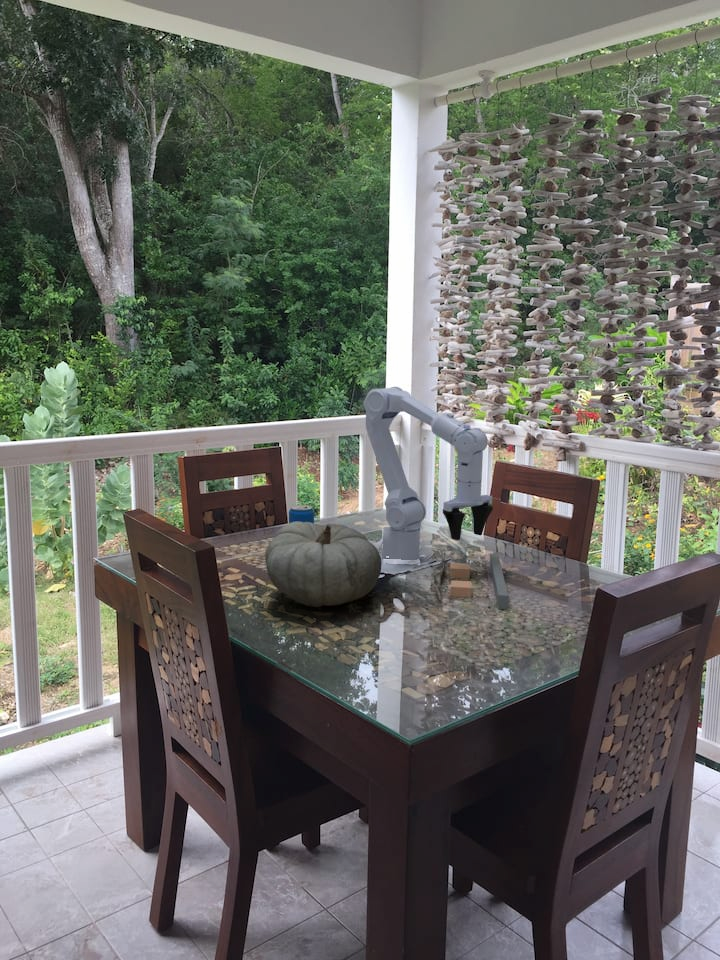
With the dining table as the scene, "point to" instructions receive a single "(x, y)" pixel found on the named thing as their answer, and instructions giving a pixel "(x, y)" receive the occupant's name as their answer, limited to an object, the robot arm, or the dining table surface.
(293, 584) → the gourd
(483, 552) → the dining table surface
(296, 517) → the beverage can
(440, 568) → the driftwood
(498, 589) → the slate curb
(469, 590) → the tile
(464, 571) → the tile
